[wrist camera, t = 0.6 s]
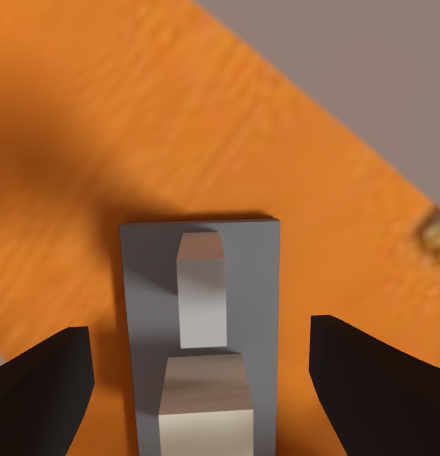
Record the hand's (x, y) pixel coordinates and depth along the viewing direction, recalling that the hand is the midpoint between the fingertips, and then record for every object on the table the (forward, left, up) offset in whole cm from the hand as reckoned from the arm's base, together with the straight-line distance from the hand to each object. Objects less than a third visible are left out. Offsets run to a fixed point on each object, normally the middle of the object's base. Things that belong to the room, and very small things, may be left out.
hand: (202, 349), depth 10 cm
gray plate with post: (-7, 0, -9) cm, 11 cm away
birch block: (-8, 0, -8) cm, 12 cm away
